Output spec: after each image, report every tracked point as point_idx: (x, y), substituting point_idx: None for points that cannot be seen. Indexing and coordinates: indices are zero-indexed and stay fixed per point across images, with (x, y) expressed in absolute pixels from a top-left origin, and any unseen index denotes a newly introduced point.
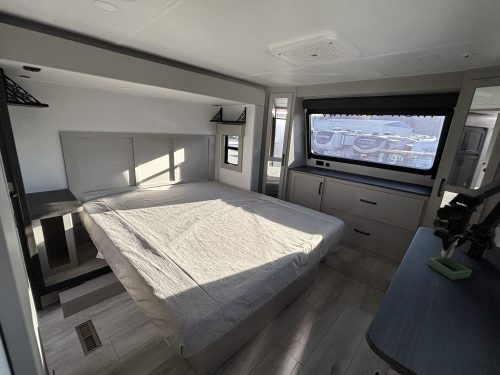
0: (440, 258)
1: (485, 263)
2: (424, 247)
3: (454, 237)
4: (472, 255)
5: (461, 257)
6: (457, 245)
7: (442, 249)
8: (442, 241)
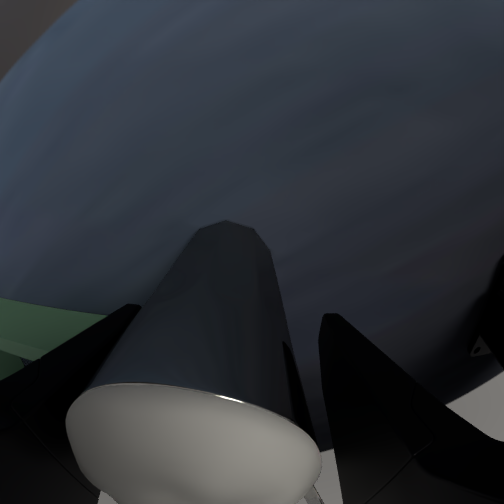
0: (15, 354)
1: (456, 376)
2: (156, 44)
3: (424, 488)
4: (482, 334)
5: (400, 307)
6: (333, 431)
7: (173, 266)
8: (6, 382)
